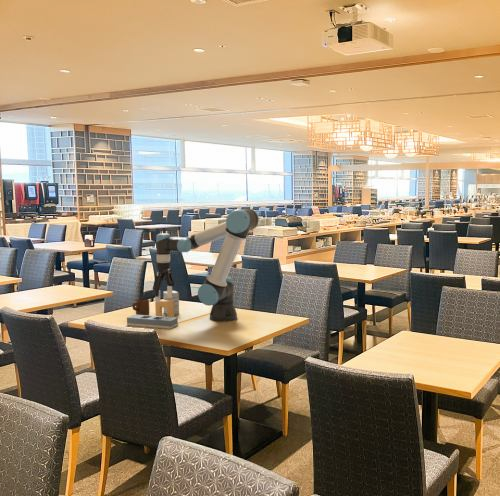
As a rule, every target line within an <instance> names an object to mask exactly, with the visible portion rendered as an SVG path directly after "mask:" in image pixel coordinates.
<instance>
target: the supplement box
mask: <svg viewBox="0 0 500 496" xmlns="http://www.w3.org/2000/svg"><path fill="white" fill-rule="evenodd" d="M179 296H180V293H179V292H178V291H176V290H172V298H167V290H166V291H163V295H162V297H163V299H162V300H171V301H174V315H179V314H180V297H179ZM163 314H166V315H167V316H168V308H164V307H163Z"/></svg>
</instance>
